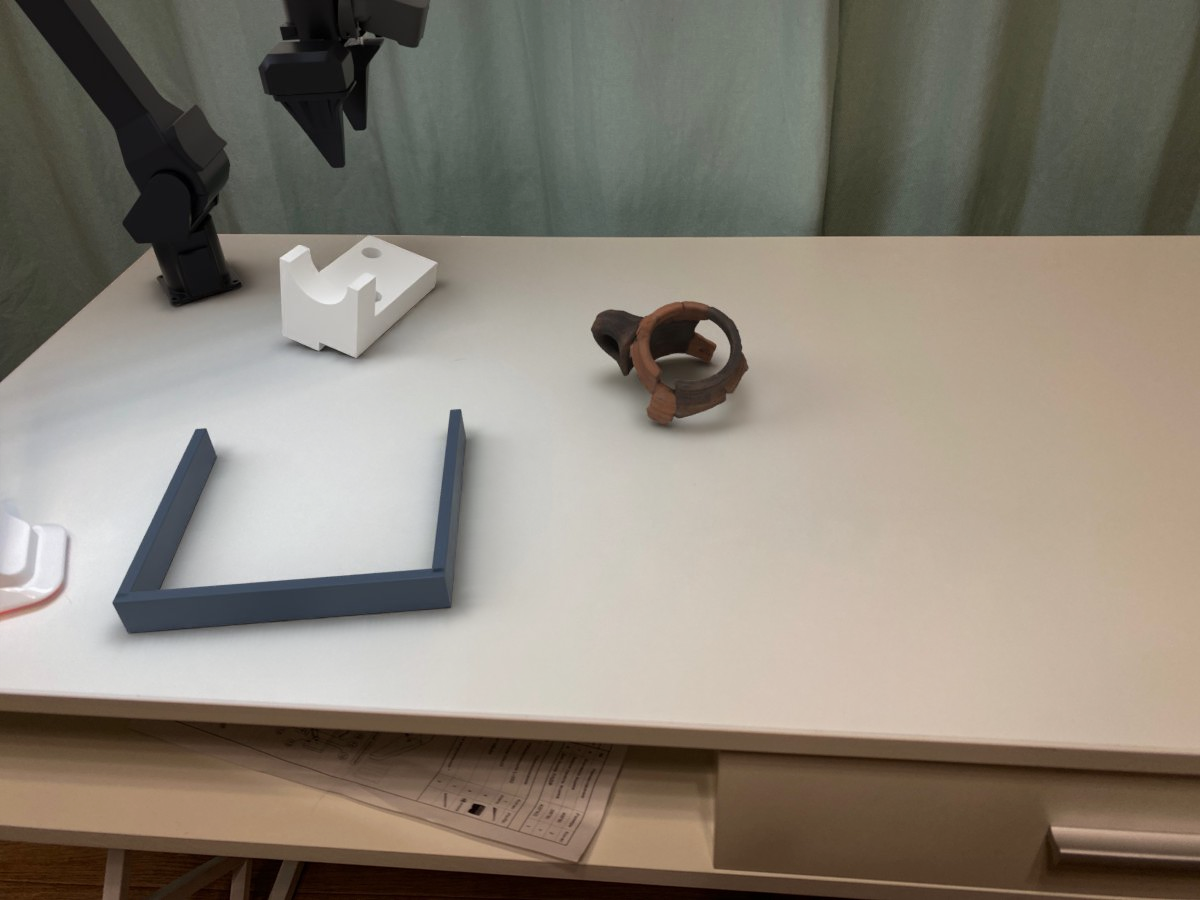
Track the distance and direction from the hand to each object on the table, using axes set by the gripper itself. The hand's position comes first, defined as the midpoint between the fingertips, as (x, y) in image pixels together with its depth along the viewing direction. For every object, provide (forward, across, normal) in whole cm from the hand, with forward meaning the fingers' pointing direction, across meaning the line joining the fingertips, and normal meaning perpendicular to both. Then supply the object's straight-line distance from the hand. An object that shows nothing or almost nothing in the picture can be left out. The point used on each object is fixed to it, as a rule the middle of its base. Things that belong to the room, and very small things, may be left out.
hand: (350, 147), depth 81 cm
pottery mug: (+12, -21, -26) cm, 36 cm away
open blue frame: (+12, -35, -2) cm, 37 cm away
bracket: (+12, -8, -1) cm, 15 cm away
